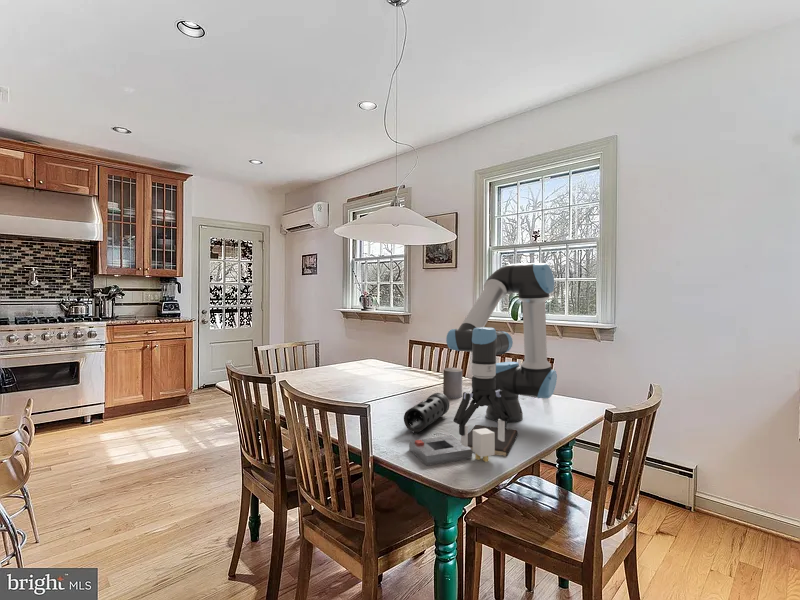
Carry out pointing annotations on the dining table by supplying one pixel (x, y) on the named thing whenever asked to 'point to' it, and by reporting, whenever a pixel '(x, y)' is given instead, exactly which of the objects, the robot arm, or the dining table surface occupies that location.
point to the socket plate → (439, 450)
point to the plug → (483, 443)
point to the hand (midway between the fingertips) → (483, 442)
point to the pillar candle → (452, 382)
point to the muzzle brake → (426, 412)
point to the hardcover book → (500, 446)
